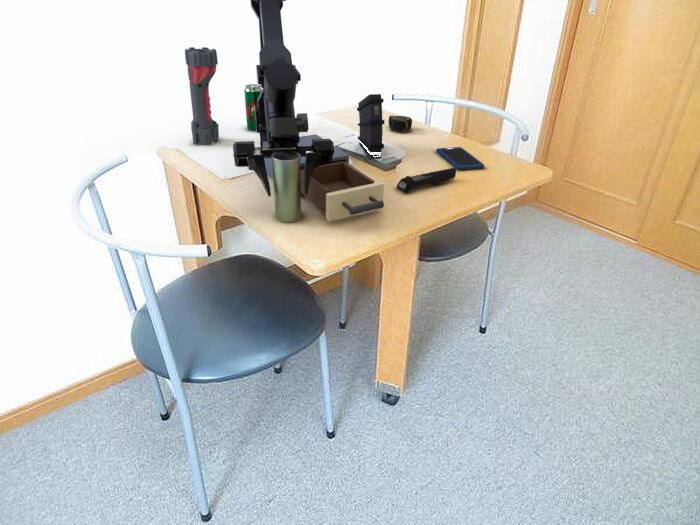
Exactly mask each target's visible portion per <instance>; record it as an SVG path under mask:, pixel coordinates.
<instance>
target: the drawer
mask: <svg viewBox="0 0 700 525" xmlns="http://www.w3.org/2000/svg"><path fill="white" fill-rule="evenodd" d="M300 184H301V193H302V194H303V195H302V196H304V197H306V199H308V200H309V201H310V202H311V203H312V204H313V205H315V206H316V207H317V208H318V209H319V210H320V211H322V212H323V213H324V214H325V220H326V221H328V222H331V221H336V220H339V219H340V220H341V219H343V218H348V217H351V216H355V215H360V214H365V213H368V212H373V211H376V210H380V209H383V208H384V207H385V202H384V196H385V195H384V194H385V183H384V182H382V181H378V182H375V180H374V179H372V178H371V177H369V176H368V175H366V173H363V172H362V171H360V170H359V169H357V168H355V167H354V166H352V164H350V163H349V164H348V163H346V162H345V161H341V162H336V163H330V164H325V165H320V166H319V167H317V168H314V170H313V172H312V175H311V178H310V183H309V188H308V193H307V195H305V191H304V168H303V169H300Z"/></svg>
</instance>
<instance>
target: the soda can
mask: <svg viewBox="0 0 700 525" xmlns="http://www.w3.org/2000/svg"><path fill="white" fill-rule="evenodd" d="M262 89H263V88H262V87H261V85H258V84H257V83H248V84H245V86H244V90H243V93H244V105H245V106H244V107H245V116H246V118H245V119H246V128H247V129H248V130H249V131H250V132H251V131H252V132H257V130H256V119H255V107H258V102H257V100H258V97H259V95H260V93H261V91H262ZM259 125H261V124H259Z"/></svg>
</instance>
